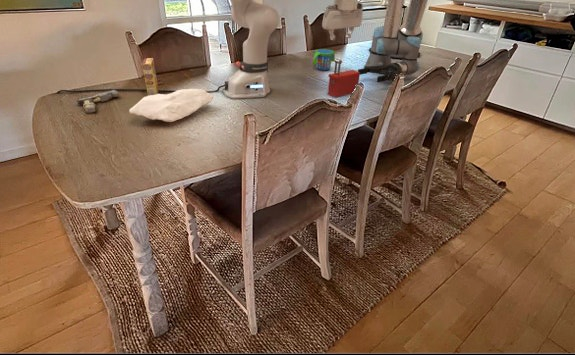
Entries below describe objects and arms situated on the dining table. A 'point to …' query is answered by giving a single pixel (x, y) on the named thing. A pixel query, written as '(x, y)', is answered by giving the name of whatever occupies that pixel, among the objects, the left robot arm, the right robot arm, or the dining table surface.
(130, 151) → the dining table surface
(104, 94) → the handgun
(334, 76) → the lid
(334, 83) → the chest
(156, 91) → the candy box
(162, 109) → the crumpled cloth
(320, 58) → the snack cup
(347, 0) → the left robot arm
